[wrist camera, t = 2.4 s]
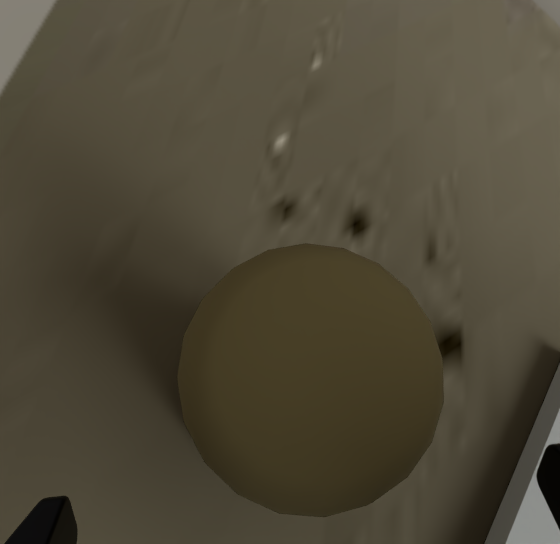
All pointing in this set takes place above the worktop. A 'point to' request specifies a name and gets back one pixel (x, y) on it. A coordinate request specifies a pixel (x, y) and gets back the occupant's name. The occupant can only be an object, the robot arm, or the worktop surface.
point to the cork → (310, 380)
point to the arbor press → (530, 484)
